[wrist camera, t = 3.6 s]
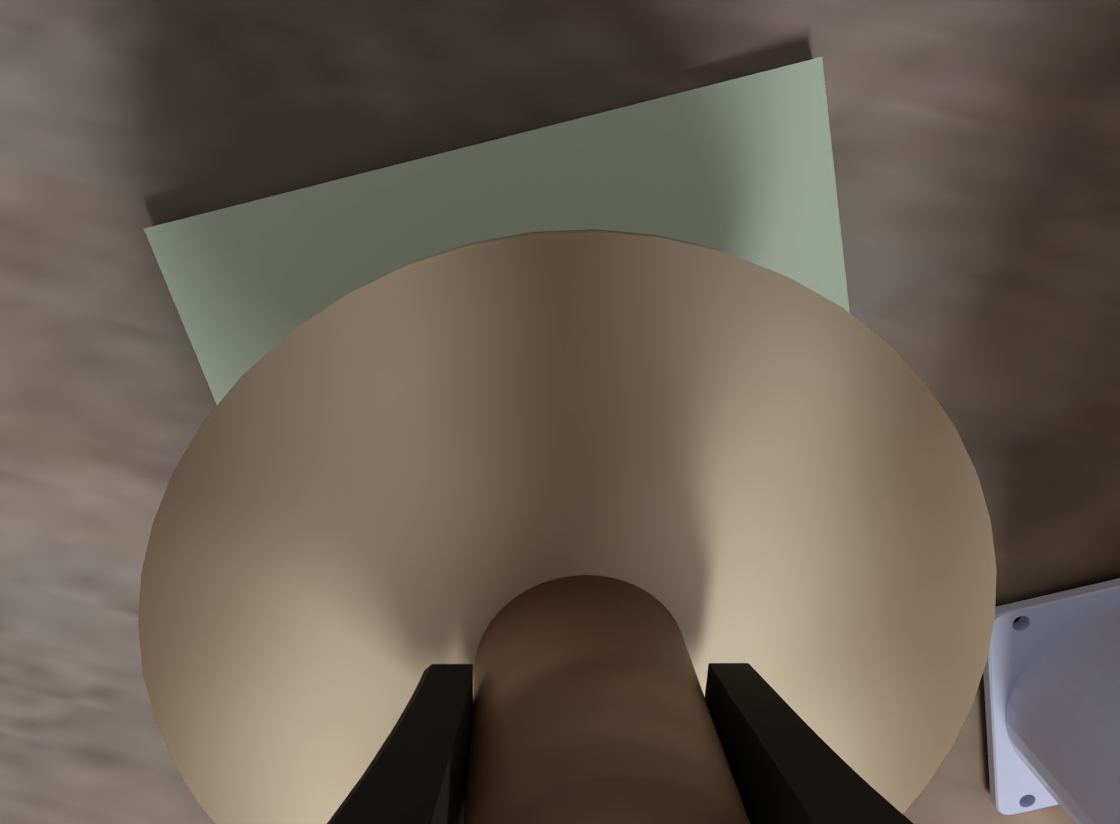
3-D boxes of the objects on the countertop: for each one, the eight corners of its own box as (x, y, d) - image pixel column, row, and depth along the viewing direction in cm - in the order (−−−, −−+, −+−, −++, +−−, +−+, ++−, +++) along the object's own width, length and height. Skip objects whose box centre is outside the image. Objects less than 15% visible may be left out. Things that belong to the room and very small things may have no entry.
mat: (813, 59, 17) (821, 56, 16) (877, 628, 22) (884, 638, 21) (154, 227, 17) (143, 228, 17) (366, 745, 22) (363, 758, 22)
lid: (943, 124, 10) (1277, 91, 6) (984, 837, 15) (1190, 1129, 10) (6, 358, 11) (-371, 501, 6) (326, 990, 15) (246, 1340, 11)
